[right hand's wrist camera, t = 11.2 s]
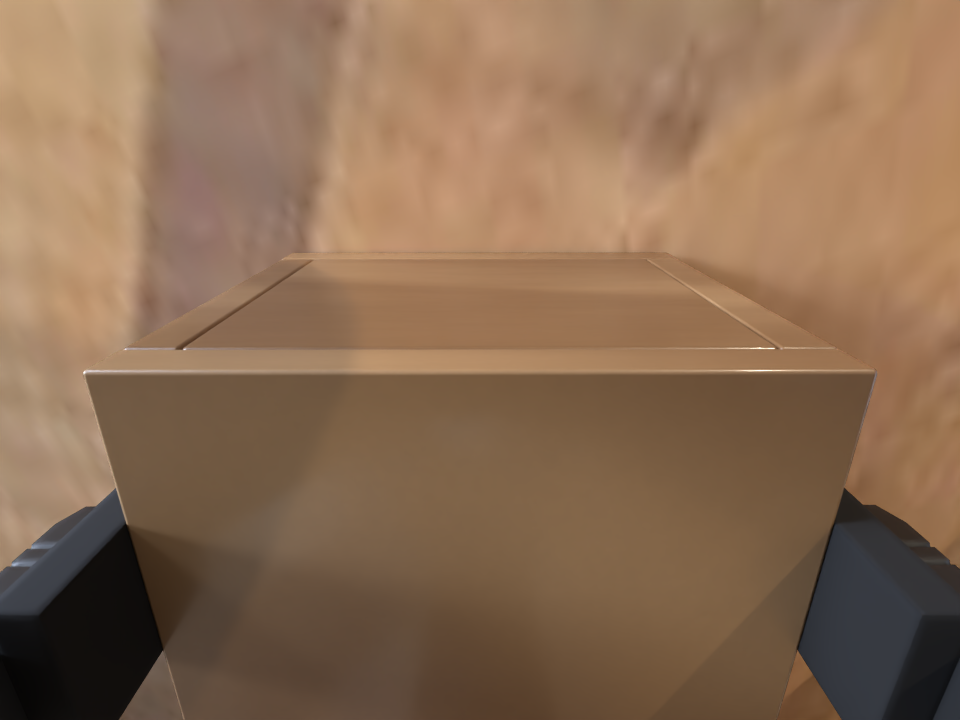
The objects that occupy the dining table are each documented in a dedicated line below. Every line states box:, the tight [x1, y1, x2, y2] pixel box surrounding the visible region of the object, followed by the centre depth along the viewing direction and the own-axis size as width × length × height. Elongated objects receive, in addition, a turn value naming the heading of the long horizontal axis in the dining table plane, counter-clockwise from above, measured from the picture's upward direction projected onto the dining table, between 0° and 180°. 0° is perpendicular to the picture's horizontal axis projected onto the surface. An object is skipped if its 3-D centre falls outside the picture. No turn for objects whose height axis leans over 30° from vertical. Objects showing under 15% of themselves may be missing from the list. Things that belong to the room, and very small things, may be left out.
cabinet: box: [83, 253, 877, 720], centre depth 15 cm, size 16×11×9 cm
